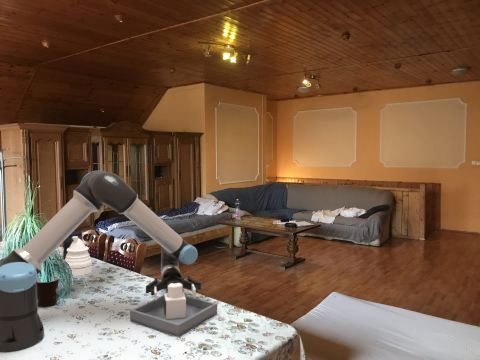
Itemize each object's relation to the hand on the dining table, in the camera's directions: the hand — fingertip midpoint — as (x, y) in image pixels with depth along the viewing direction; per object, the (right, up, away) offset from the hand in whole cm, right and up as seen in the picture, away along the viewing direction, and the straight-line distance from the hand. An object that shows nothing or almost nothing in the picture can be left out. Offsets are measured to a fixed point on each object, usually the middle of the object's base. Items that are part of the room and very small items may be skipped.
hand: (175, 295), depth 139 cm
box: (-1, -9, +4) cm, 10 cm away
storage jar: (-69, -3, +78) cm, 104 cm away
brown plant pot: (-52, -8, +16) cm, 55 cm away
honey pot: (-57, -5, +56) cm, 80 cm away
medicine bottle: (-1, -8, +4) cm, 9 cm away
